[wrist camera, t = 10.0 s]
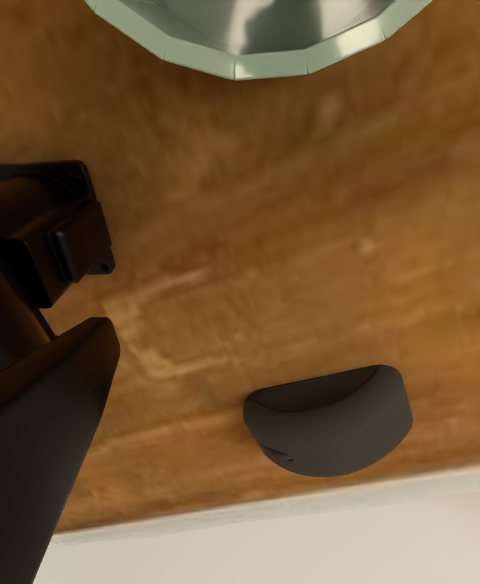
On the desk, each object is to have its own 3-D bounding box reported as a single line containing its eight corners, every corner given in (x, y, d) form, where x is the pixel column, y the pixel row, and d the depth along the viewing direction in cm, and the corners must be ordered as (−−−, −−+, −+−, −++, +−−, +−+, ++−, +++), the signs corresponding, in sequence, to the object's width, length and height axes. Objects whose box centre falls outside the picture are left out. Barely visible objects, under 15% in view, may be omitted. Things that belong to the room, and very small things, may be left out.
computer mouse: (237, 393, 28) (231, 441, 24) (396, 360, 24) (414, 411, 21) (268, 445, 31) (265, 494, 27) (413, 421, 27) (430, 474, 24)
